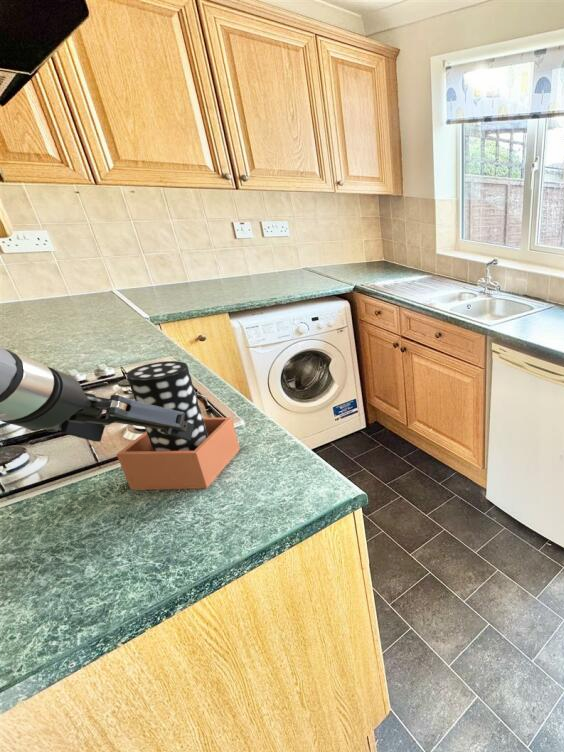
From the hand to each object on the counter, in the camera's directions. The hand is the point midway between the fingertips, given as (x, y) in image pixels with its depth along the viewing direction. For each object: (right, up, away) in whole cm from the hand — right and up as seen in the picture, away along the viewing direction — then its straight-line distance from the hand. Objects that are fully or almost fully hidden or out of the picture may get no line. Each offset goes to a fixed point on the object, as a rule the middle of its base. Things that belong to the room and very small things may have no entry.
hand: (145, 433), depth 70 cm
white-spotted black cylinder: (-1, -8, +11) cm, 13 cm away
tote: (-1, -8, +11) cm, 14 cm away
